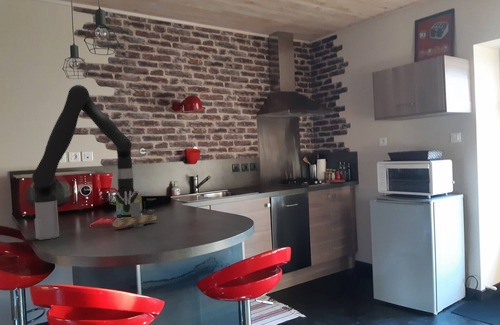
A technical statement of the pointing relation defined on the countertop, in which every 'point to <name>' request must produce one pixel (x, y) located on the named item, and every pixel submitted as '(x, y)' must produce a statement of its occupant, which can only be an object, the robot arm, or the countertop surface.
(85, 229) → the countertop surface
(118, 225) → the bread loaf
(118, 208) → the tea box
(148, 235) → the countertop surface
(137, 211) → the block
